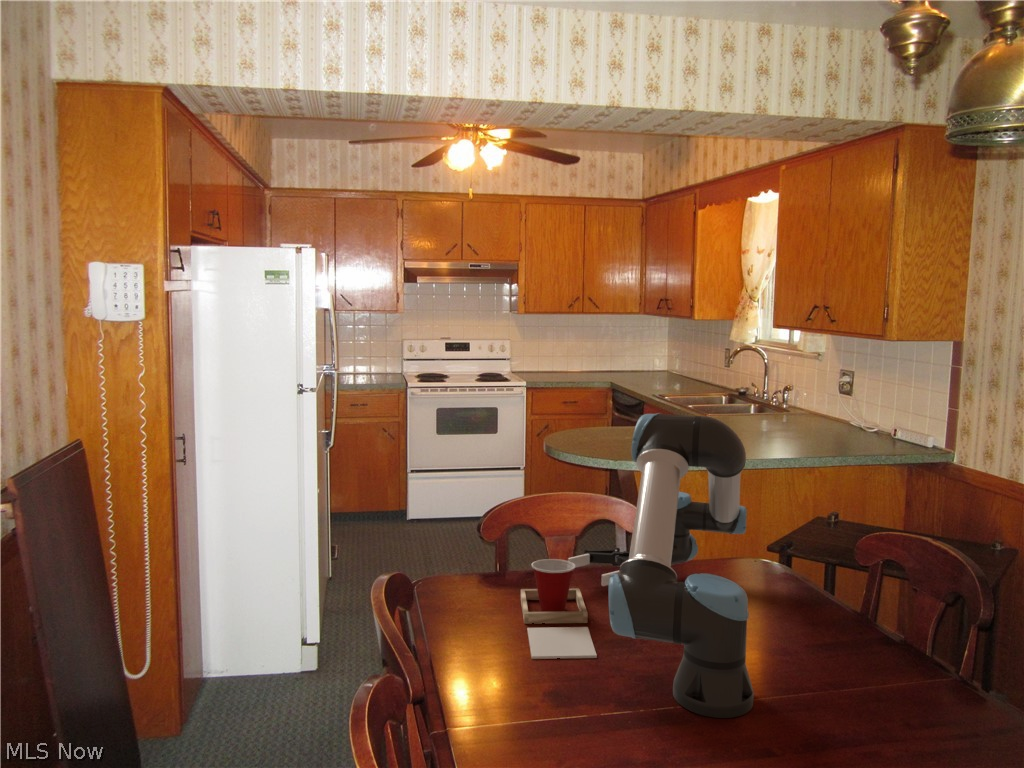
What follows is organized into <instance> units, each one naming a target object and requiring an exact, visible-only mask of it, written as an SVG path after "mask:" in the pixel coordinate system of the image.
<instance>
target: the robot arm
mask: <svg viewBox="0 0 1024 768" xmlns="http://www.w3.org/2000/svg"><path fill="white" fill-rule="evenodd" d="M630 452H631V453H630V454H631V459H632V460H633V462H635V463H636V467H637V469H638V471H639V472H640V473H641V476H640V481H639V482H640V483H639V488H638V495H637V500H636V501H637V502H636V509H635V515H634V522H633V529H632V533H631V534H632V535H631V541H630V548H629V550H628V551H626V550H625V551H624V550H623V551H621V548H619V547H615V548H604V549H603V548H599V549H597V548H596V549H593V548H592V549H584V550H583V554H580V555H576V556H571V557H568V558H567V561H570V562H572V563H574V564H575V566H576V567H575V568H579V567H584V566H589V565H591V563H593V564H607V565H608V564H611V565H612V566H615V567H619V570H615V571H611V572H608V573H603V574H601V575H600V576H601V583H600V585H601V586H602V587H606V586H608V613H609V615H608V616H609V624H610V628H611V630H612V632H614V634H616V635H618V636H623V637H628V638H632V639H634V640H635V639H639V640H646V641H654V642H655V641H656V642H662V643H671V644H676V645H682V646H683V655H682V658H681V661H680V663H679V665H678V668H677V670H676V673H675V676H674V679H673V683H672V684H673V685H672V695H673V698H674V700H675V701H676V702H677V704H678V705H680V706H682V707H683V708H685V709H686V710H688V711H690V712H692V713H694V714H697V715H700V716H704V717H709V718H714V719H733V718H738V717H741V716H744V715H746V714H747V713H749V712H750V711H751V710H752V708H753V707H754V696H755V693H754V688H753V685H752V682H751V678H750V675H749V672H748V667H747V663H746V661H747V660H746V659H747V636H748V634H747V632H748V631H747V630H748V620H749V616H750V615H749V614H750V613H749V607H748V606H749V605H748V604H749V603H748V601H749V599H748V595H747V593H746V591H745V589H744V588H743V587H741V585H739V584H738V583H736V582H735V581H733V580H730V579H728V578H726V577H723V576H720V575H718V574H712V573H704V572H703V573H692V574H690V575H688V576H687V577H686V579H685V581H678V575H677V573H676V570H674V569H673V567H672V566H674V565H677V564H683V563H685V562H686V563H687V562H689V561H691V560H693V559H694V558H695V557H696V556H697V555H698V551H699V545H698V544H697V539H696V538H695V537H694V536H693V534H691V530H692V531H701V532H702V531H704V532H712V533H720V534H729V535H733V534H734V535H743V534H745V533H746V531H747V515H748V510H747V508H746V506H744V505H741V502H740V500H741V498H740V497H741V472H743V470H744V468H745V466H746V463H747V462H746V460H747V457H746V456H747V452H746V449H745V446H744V443H743V442H742V439H741V438H740V437H739V435H738V434H737V433H736V432H735V431H734V429H732V428H731V427H730V426H729V425H727V424H726V423H725V422H723V421H721V420H719V419H717V418H715V417H712V416H707V415H706V416H705V415H687V414H686V415H685V414H684V415H683V414H682V415H681V414H669V413H667V414H666V413H664V414H663V413H661V412H658V413H657V412H656V413H645V414H642V415H640V417H639V418H638V420H637V422H636V424H635V427H634V431H633V434H632V442H631V451H630ZM689 467H695V468H705V469H706V471H707V472H708V479H707V480H708V500H709V501H708V502H703V501H702V502H701V501H692V500H693V499H692V497H691V495H690V494H689V493H687V492H682V491H680V486H681V479H682V478H684V477H685V476H686V475H687V473H688V472H689Z"/></svg>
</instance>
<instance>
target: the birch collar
mask: <svg viewBox="0 0 1024 768" xmlns="http://www.w3.org/2000/svg"><path fill="white" fill-rule="evenodd" d="M582 595H583V594H582V592H581V590H580V588H576V587H574V588H569V592H568V597H567V600H575V602H576V604H577V608H578V611H577V610H576V611H575V610H574V611H573V610H572V611H570V610H569V611H568V610H567V611H566V610H564V611H555V612H542V611H529V608H528V601H539V597H538V590H537V588H520V605H521V611H522V616H523V618H522V619H523V624H524V625H526V624H527V625H528V624H529V625H531V624H532V623H534V624H539V625H540V624H542V623H545V624H587V623H588V618H589V616H588V610H587V607H586V605H585V602H584V598H583V596H582ZM532 625H533V624H532Z"/></svg>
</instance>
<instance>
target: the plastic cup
mask: <svg viewBox="0 0 1024 768" xmlns="http://www.w3.org/2000/svg"><path fill="white" fill-rule="evenodd" d="M530 566H531V567H532V569H533V573H534V577H535V583H536V589H537V590H538V597H539V600H538V601H539V607H540V612H555V611H566V606H567V600H568V599H567V597H568V592H569V589H570V588H571V587H570V586H571V580H572V577H573V573H574V570H575V567H576V566H575V564H574V563H572V562H570V561H568V560H565V559H560V558H559V559H557V558H547V559H538V560H536V561H533V562H532V563H531V565H530ZM576 568H577V567H576Z"/></svg>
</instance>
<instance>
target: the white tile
mask: <svg viewBox="0 0 1024 768" xmlns="http://www.w3.org/2000/svg"><path fill="white" fill-rule="evenodd" d="M526 630H527V636H528V644H529V649H530V657H531V660H543V659H544V660H546V659H548V660H549V659H551V660H552V659H553V660H555V659H557V658H560V659H597V658H598V657H597V656H598V655H597V652H596V648H595V645H594V643H593V640H592V637H591V633H590V629H589V627H588V626H569V627H568V626H562V627H561V626H559V627H557V626H556V627H549V626H547V627H527V629H526Z"/></svg>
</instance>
